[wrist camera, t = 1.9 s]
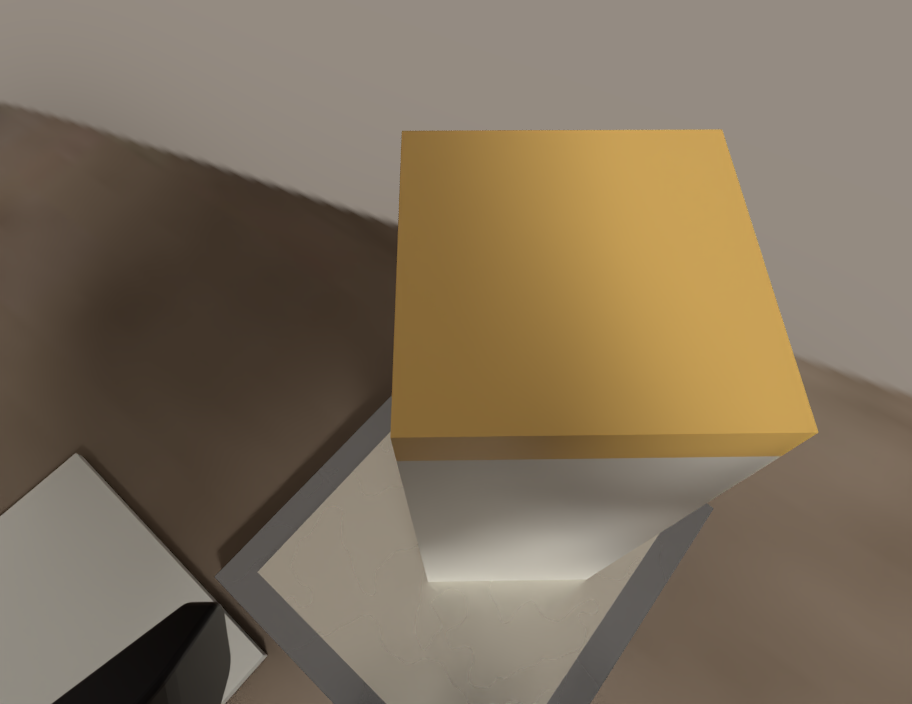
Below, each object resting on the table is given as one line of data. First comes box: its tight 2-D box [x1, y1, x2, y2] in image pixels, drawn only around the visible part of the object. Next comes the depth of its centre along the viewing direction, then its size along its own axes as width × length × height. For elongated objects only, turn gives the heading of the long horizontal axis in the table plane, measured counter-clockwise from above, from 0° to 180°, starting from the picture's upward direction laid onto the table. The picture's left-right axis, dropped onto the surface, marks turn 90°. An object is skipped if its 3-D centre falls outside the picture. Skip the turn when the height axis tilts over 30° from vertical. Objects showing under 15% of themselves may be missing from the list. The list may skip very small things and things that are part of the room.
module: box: [390, 130, 818, 582], centre depth 13 cm, size 4×4×12 cm
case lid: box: [0, 453, 267, 704], centre depth 16 cm, size 9×9×1 cm
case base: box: [215, 396, 714, 704], centre depth 18 cm, size 11×10×1 cm
